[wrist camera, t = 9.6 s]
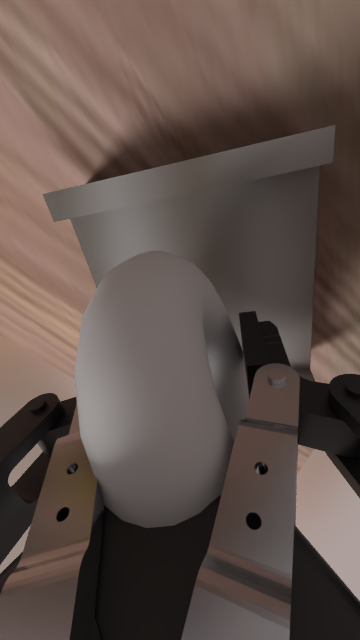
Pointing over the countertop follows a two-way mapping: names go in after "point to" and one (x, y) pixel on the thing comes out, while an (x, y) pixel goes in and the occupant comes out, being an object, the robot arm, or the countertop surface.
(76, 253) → the countertop surface
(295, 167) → the base
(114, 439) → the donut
